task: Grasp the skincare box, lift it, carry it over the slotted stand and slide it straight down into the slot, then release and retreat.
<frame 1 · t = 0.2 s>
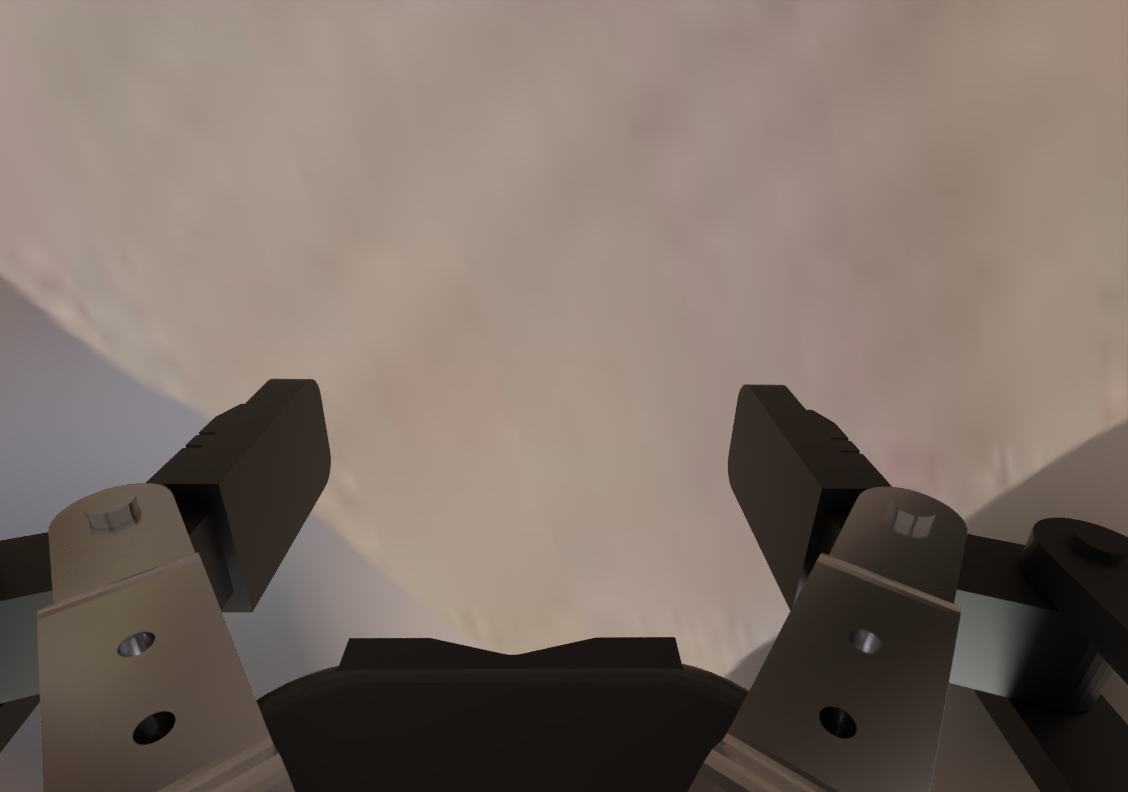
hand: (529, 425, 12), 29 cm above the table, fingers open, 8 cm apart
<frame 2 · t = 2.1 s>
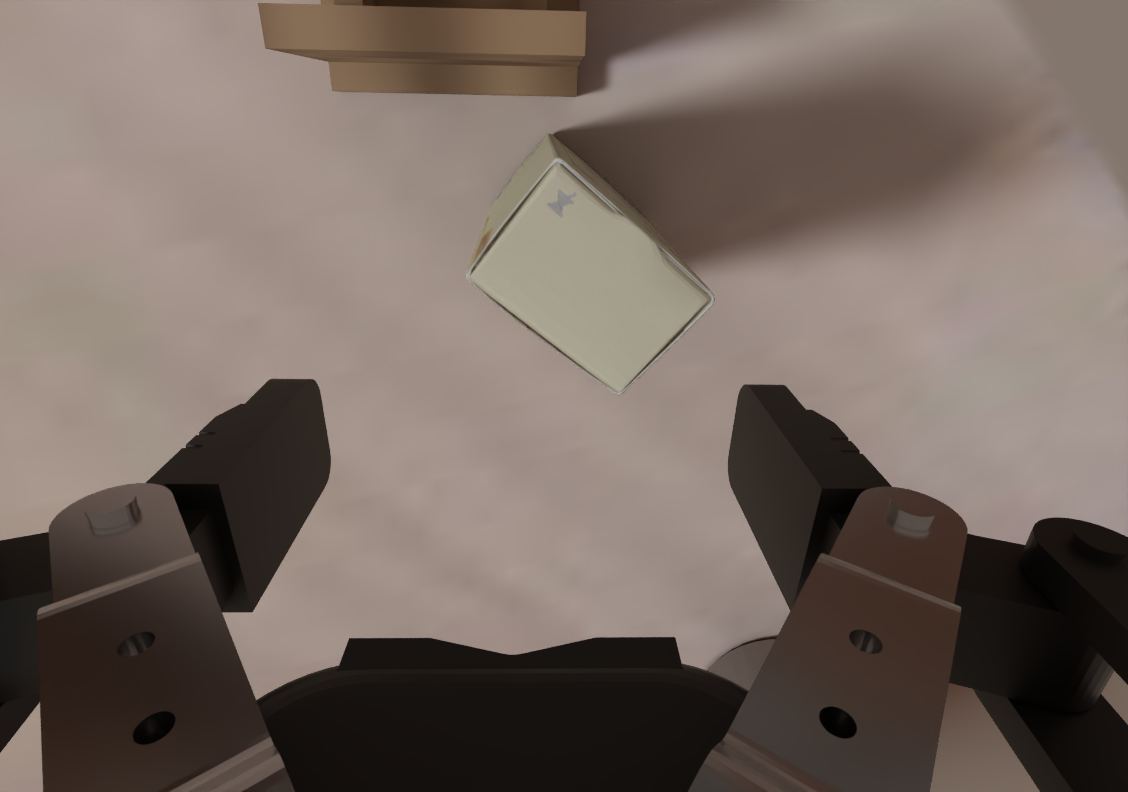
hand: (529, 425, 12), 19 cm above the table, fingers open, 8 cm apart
skincare box: (572, 216, 28), on the table
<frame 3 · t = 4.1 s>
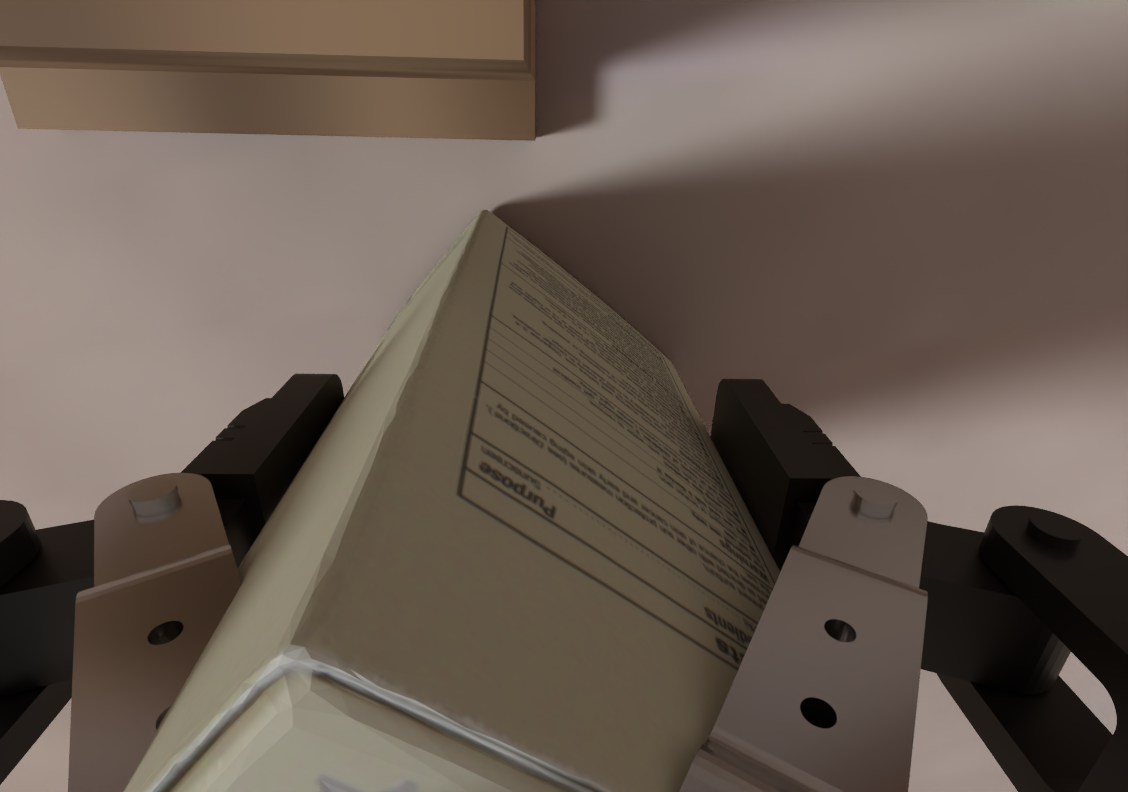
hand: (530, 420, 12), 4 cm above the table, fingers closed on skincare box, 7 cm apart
skincare box: (535, 352, 15), on the table, touching gripper
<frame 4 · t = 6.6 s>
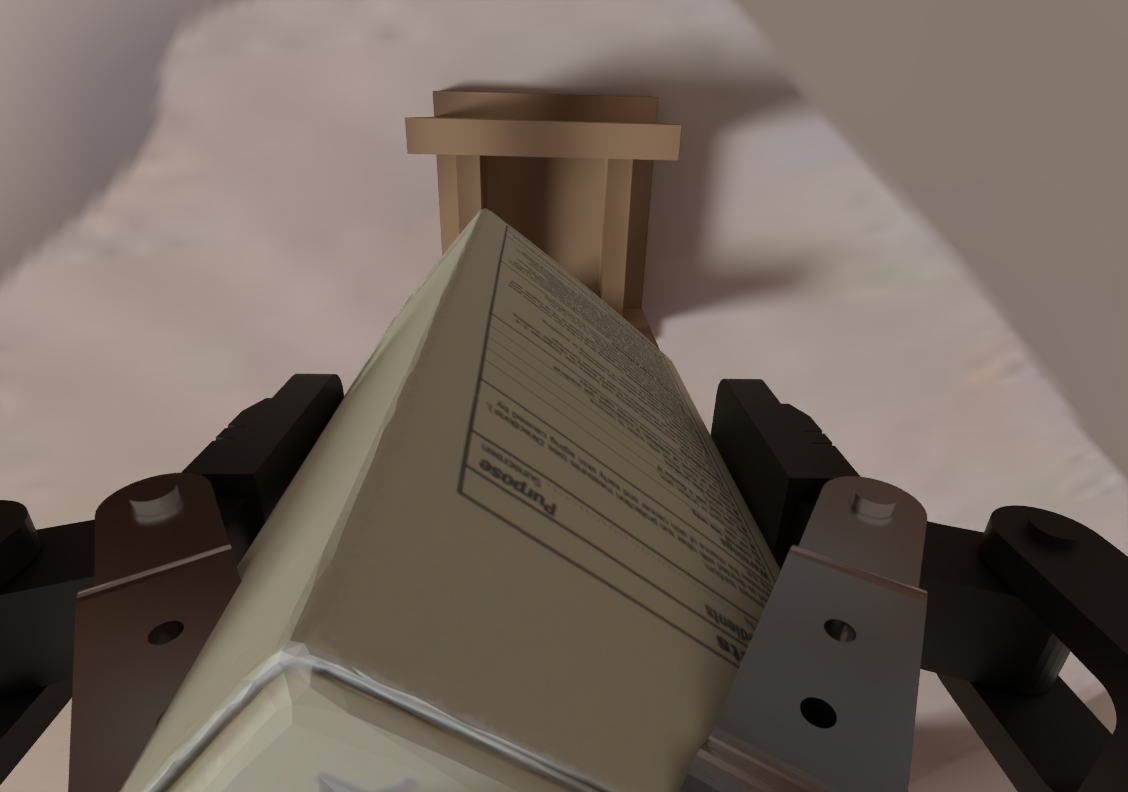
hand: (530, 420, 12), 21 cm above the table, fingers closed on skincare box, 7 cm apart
skincare box: (535, 351, 15), point 17 cm above the table, touching gripper
stand: (544, 228, 30), on the table
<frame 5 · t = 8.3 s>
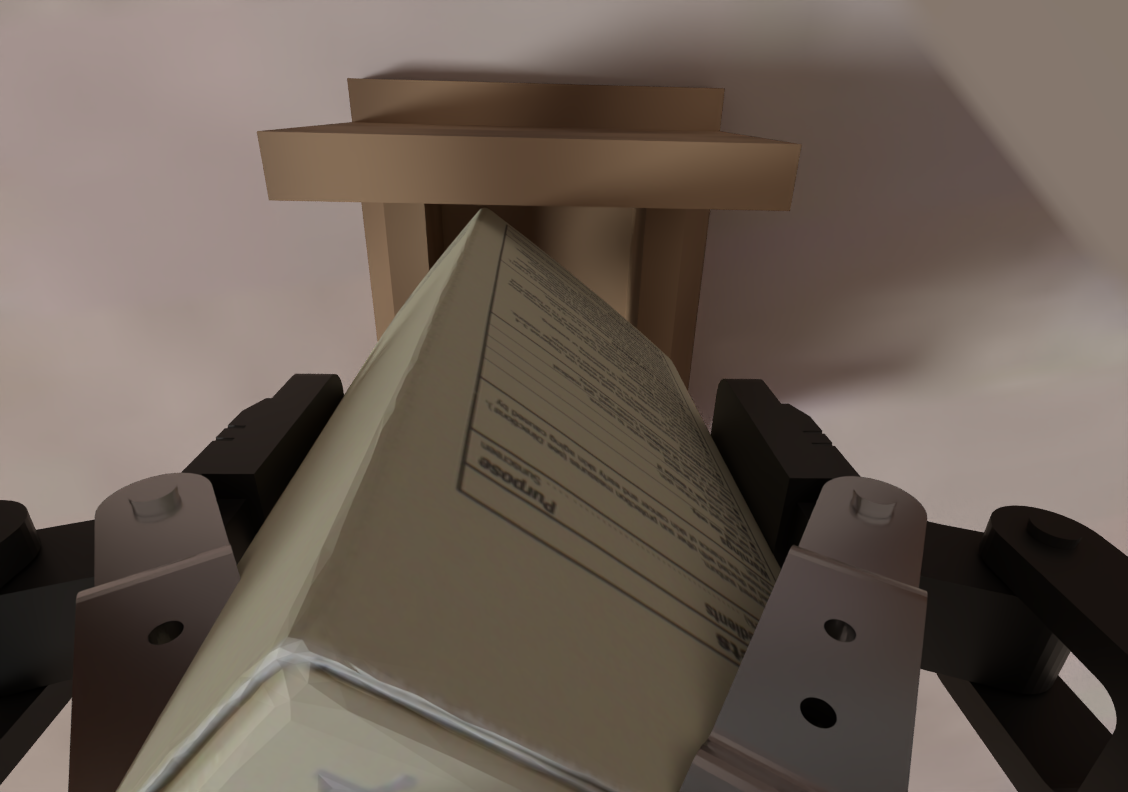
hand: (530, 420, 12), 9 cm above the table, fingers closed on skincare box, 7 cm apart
skincare box: (535, 351, 15), point 5 cm above the table, touching gripper
stand: (537, 293, 20), on the table
when the fingers open (7 cm above the table, at t = 9.4 s): skincare box stays where it is, resting on stand.
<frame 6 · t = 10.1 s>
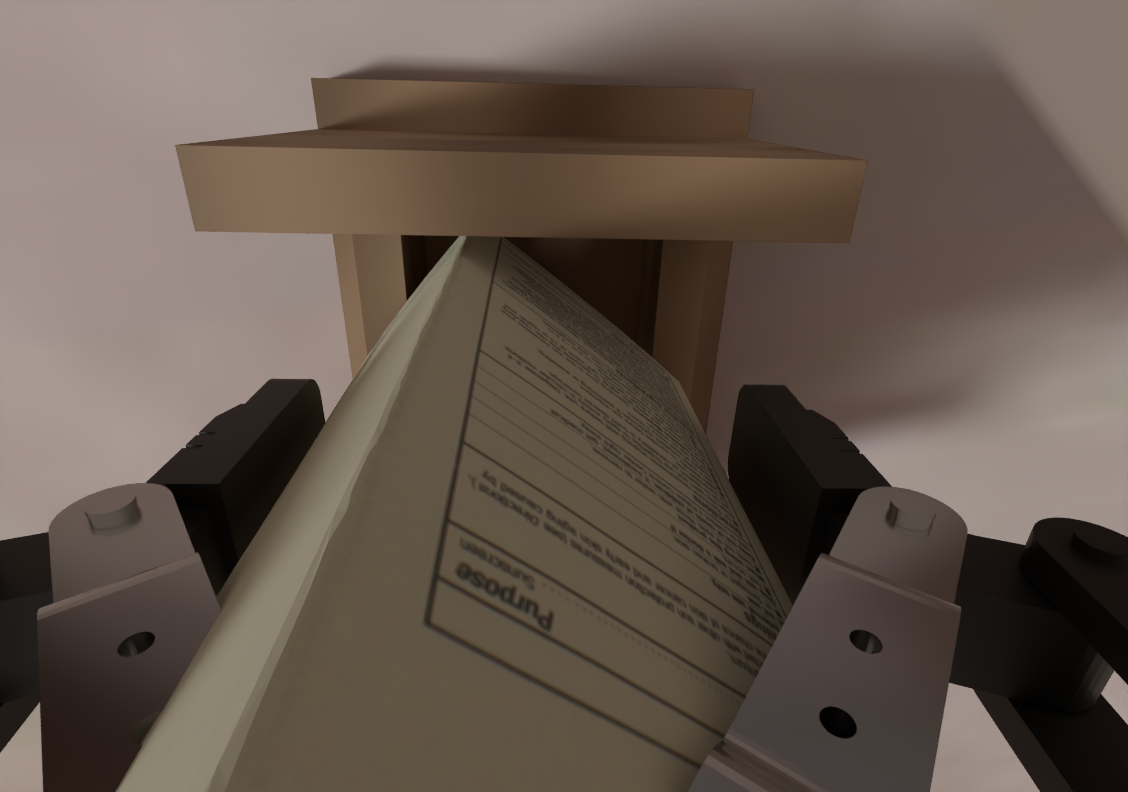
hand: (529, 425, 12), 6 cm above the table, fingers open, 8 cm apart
skincare box: (532, 371, 14), point 3 cm above the table, touching stand
stand: (535, 322, 17), on the table
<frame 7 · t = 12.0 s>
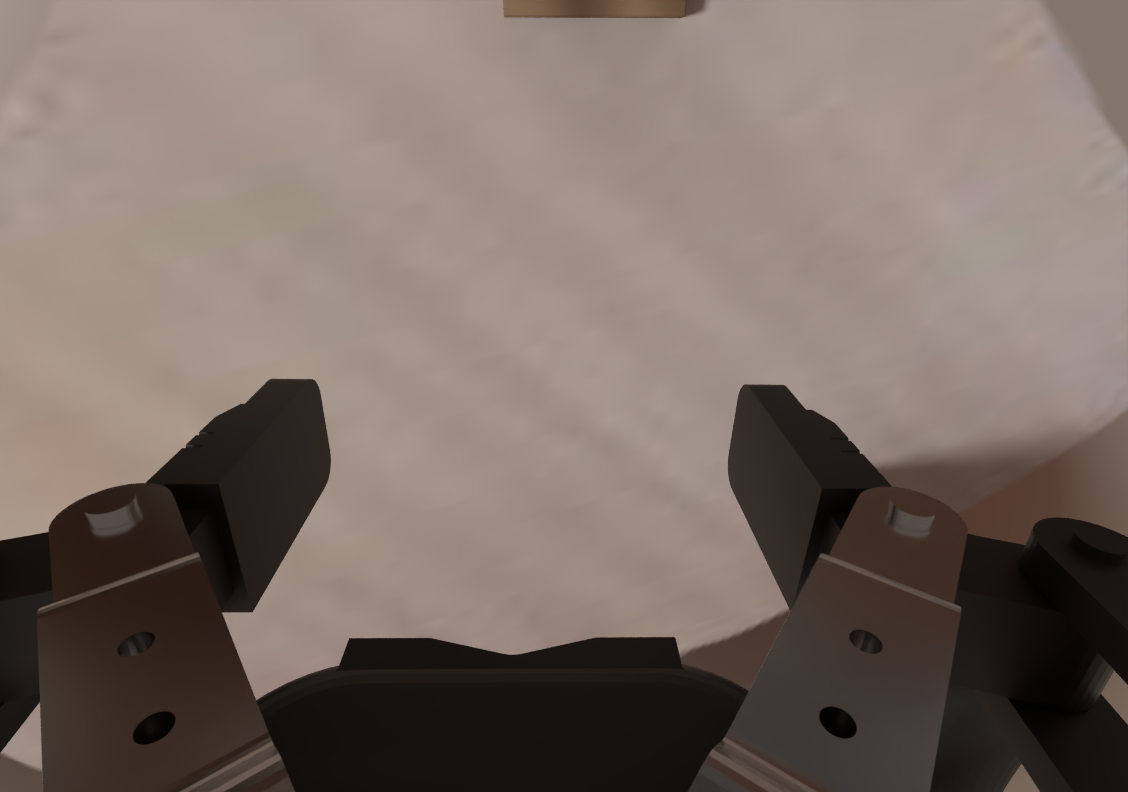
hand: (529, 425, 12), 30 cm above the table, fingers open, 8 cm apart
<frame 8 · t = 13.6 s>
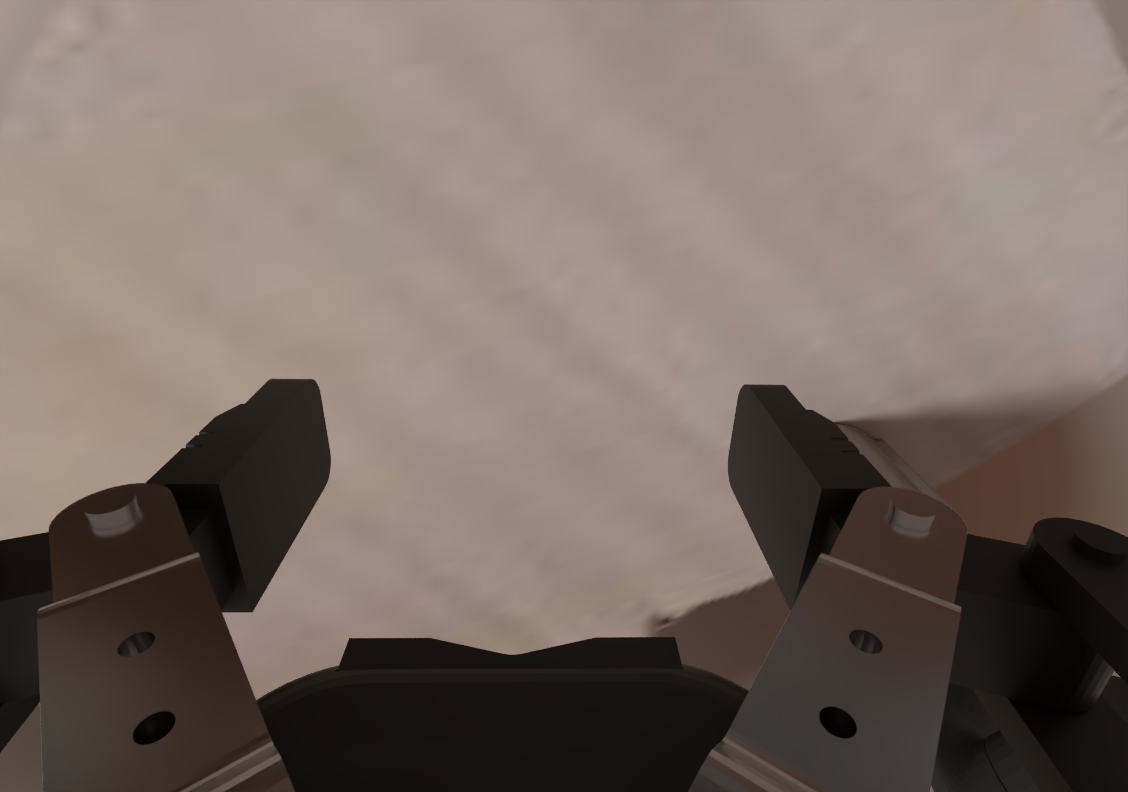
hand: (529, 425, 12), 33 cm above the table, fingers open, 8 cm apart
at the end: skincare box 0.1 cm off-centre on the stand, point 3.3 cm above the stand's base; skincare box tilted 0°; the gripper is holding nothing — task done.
